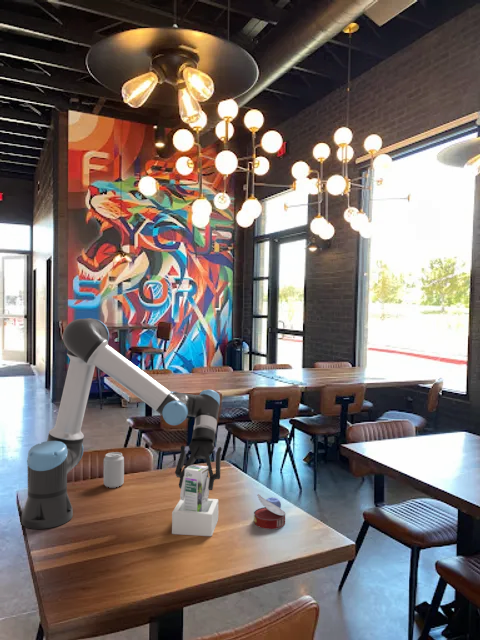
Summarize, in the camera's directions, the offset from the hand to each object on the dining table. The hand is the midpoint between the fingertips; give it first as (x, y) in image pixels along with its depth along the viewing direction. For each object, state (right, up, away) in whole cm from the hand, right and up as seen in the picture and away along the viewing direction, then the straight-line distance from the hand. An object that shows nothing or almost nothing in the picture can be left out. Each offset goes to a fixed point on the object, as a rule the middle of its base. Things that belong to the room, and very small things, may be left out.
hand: (193, 498), depth 148 cm
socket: (0, -10, +4) cm, 10 cm away
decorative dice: (+25, -10, +16) cm, 31 cm away
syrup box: (0, -6, +4) cm, 7 cm away
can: (-34, -9, +39) cm, 53 cm away
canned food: (+23, -10, +7) cm, 27 cm away
